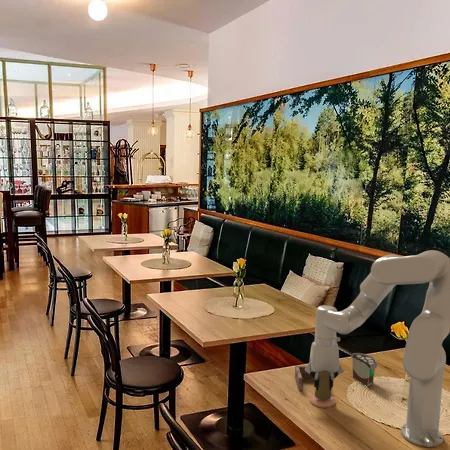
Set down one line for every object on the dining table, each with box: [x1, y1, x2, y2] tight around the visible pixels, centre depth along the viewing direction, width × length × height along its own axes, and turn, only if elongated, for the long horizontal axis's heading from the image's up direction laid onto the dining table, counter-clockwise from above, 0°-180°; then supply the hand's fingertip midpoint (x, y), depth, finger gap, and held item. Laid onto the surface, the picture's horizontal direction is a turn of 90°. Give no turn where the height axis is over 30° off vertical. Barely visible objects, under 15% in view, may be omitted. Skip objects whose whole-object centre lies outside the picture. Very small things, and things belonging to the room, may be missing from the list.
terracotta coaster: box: [309, 393, 336, 409], centre depth 174 cm, size 9×9×1 cm
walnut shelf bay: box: [294, 365, 314, 391], centre depth 188 cm, size 11×11×5 cm
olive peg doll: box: [314, 370, 332, 400], centre depth 173 cm, size 6×6×11 cm
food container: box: [351, 352, 378, 388], centre depth 191 cm, size 12×6×10 cm, turn 22°
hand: (323, 388), depth 174 cm, fingers closed on olive peg doll, 3 cm apart
